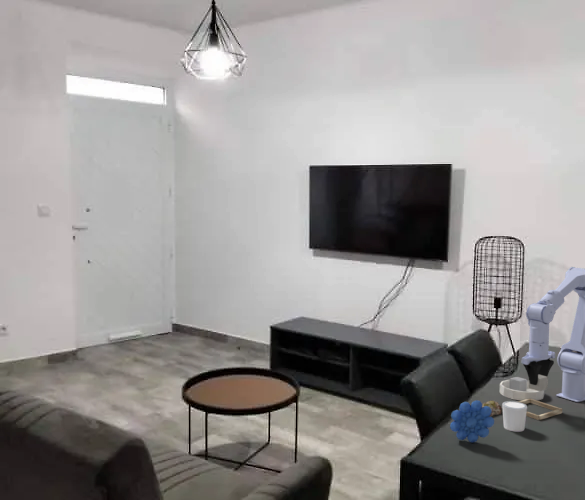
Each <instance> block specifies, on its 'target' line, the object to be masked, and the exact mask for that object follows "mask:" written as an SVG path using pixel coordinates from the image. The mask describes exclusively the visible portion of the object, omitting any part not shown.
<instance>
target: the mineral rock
mask: <svg viewBox="0 0 585 500" xmlns="http://www.w3.org/2000/svg"><path fill="white" fill-rule="evenodd" d="M484 406H488V407H490V408H491V410H492V412H491V414H490V417H493V416H495V415H497V416H498V415H501V414H502V413H503V408H502V405H500V404H499V402H498V401H496V400H487V401H486V402H485V401H484V402H483V403H482V407H484Z"/></svg>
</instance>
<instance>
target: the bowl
mask: <svg viewBox="0 0 585 500" xmlns="http://www.w3.org/2000/svg"><path fill="white" fill-rule="evenodd" d="M509 385H510V379H506V380H505V379H504V380H502V381H501V382H500V383H499V393H500V395H502V396H503V397H504V398H508V399H511V400H514V401H516V400H517V401H522V400H526V399H533V400H536V401H540V400H541V401H542V400H543V399H544V398H545V390H543V391H537V390H534V389H530V388H529V380H527V390H526V391H517V390H512V389H509Z"/></svg>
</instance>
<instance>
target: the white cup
mask: <svg viewBox="0 0 585 500" xmlns="http://www.w3.org/2000/svg"><path fill="white" fill-rule="evenodd" d="M501 408H502V419H503V428H504V430H507V431H510V432H517V433H519V432H523V431H525V428H526V427H525V426H526V419H527V418H526V417H527V416H526V412H528V411H527V410H528V405H527V404H523V403H520V402H518V401H516V400H514V401H513V400H511V401H510V400H508V401H504V402H502V404H501Z"/></svg>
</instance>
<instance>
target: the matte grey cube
mask: <svg viewBox="0 0 585 500" xmlns="http://www.w3.org/2000/svg"><path fill="white" fill-rule="evenodd" d="M527 379H528V378H527ZM527 379H526V378H523V377H520V376H514V377H511V378H509V380H510V385H509V389H512V390H517V391H526V390H527V381H528V380H527Z"/></svg>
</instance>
